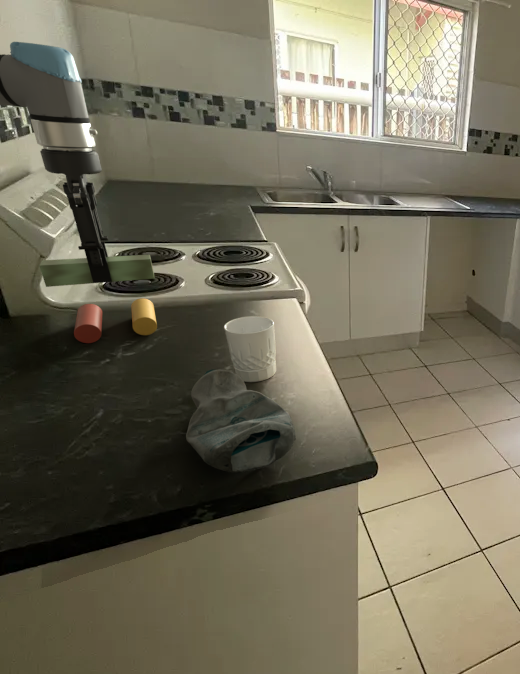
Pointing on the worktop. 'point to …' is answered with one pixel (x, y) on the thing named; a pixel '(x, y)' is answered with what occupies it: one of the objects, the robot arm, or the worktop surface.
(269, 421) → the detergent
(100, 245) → the robot arm
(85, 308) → the red rod
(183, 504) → the worktop surface
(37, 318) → the worktop surface
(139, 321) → the yellow rod
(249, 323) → the white cup
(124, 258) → the green bar
